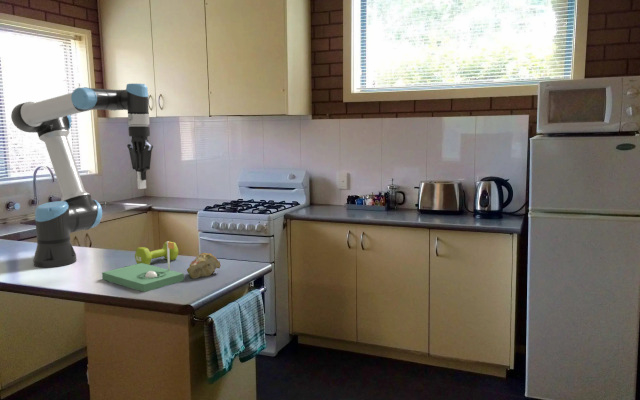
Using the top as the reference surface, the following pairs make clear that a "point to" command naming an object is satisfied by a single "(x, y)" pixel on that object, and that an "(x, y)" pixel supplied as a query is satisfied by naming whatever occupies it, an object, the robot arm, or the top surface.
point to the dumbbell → (155, 254)
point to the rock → (203, 265)
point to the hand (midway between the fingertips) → (142, 188)
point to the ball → (151, 274)
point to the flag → (171, 246)
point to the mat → (142, 277)
